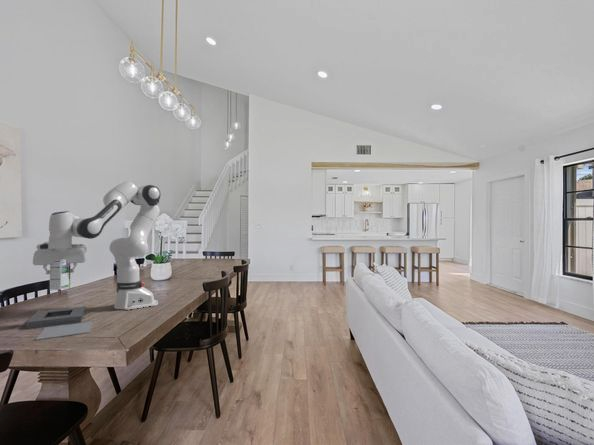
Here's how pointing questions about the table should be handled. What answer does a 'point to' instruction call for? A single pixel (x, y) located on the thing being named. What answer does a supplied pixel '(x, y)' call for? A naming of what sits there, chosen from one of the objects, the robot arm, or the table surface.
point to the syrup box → (59, 275)
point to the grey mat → (65, 330)
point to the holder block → (56, 317)
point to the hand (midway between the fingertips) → (60, 273)
